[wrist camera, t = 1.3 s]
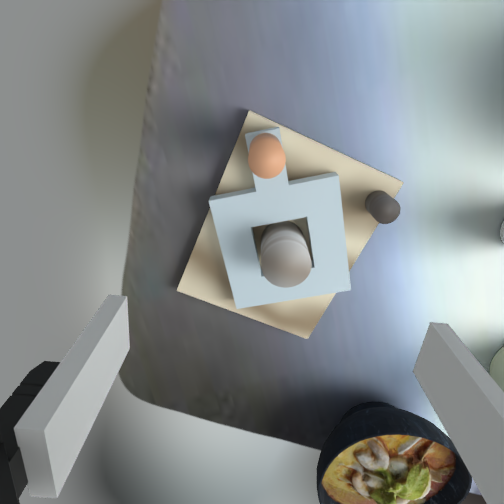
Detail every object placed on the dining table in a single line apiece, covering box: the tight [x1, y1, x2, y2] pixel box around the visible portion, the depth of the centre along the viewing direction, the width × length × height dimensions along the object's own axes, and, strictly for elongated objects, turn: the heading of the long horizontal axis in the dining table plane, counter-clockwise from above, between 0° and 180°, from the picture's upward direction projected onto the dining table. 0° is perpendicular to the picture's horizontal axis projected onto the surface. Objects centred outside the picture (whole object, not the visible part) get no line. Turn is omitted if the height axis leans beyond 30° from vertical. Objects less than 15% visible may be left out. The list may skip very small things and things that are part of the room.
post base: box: [177, 110, 403, 339], centre depth 35 cm, size 20×16×7 cm
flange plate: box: [209, 126, 351, 309], centre depth 33 cm, size 17×12×7 cm
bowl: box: [317, 402, 472, 504], centre depth 45 cm, size 17×17×10 cm
